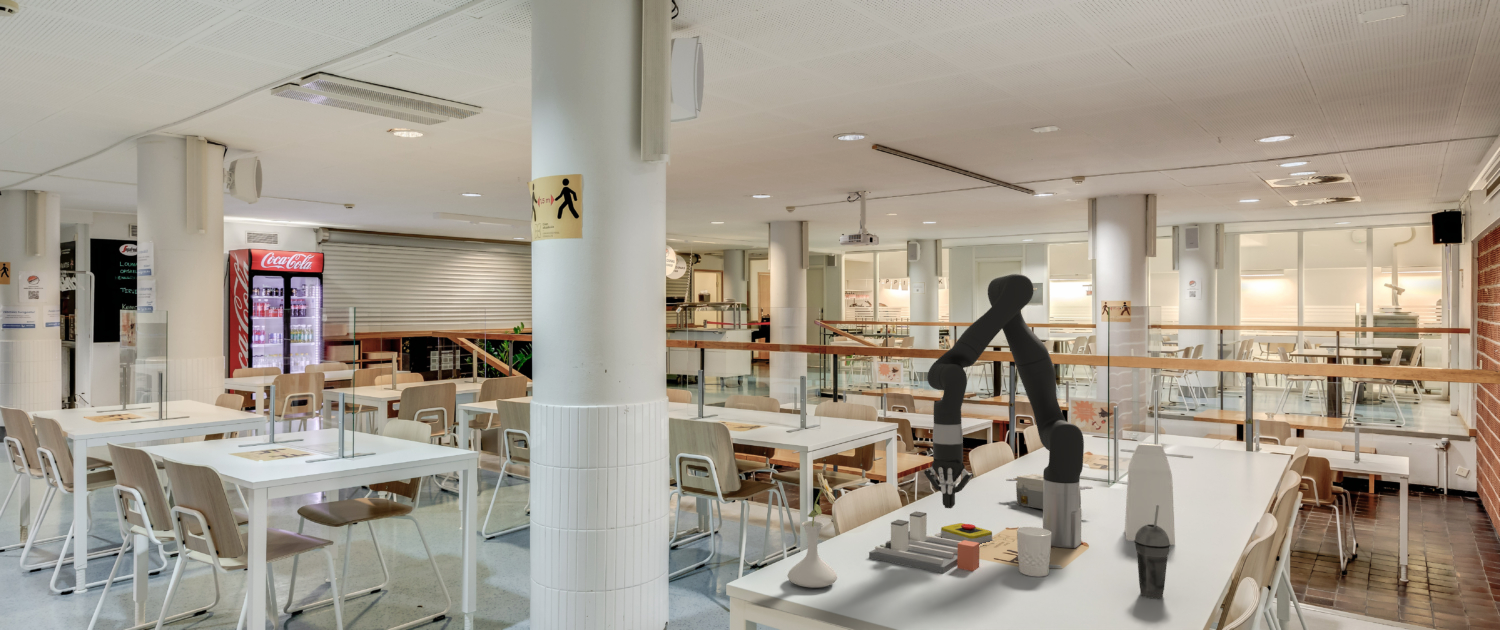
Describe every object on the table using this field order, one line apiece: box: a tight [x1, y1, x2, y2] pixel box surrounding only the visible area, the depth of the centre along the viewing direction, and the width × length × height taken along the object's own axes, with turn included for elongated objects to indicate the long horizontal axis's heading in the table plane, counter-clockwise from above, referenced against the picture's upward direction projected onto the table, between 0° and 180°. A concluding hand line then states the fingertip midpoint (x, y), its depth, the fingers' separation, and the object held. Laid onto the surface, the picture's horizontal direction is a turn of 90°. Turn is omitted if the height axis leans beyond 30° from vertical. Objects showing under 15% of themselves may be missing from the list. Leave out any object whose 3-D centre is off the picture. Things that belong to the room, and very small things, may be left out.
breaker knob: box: [890, 519, 910, 552], centre depth 210 cm, size 3×4×7 cm
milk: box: [1124, 443, 1176, 546], centre depth 232 cm, size 12×12×26 cm
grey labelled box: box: [1005, 473, 1094, 510], centre depth 265 cm, size 12×28×10 cm, turn 29°
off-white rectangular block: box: [909, 510, 928, 542], centre depth 219 cm, size 3×4×7 cm
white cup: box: [1016, 526, 1052, 578], centre depth 199 cm, size 8×8×10 cm
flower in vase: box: [787, 472, 838, 589], centre depth 190 cm, size 13×11×25 cm
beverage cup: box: [1133, 505, 1171, 600], centre depth 184 cm, size 7×7×20 cm
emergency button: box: [934, 522, 994, 544], centre depth 229 cm, size 9×4×15 cm
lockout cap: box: [956, 540, 980, 572], centre depth 203 cm, size 4×4×6 cm
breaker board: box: [868, 530, 962, 574], centre depth 213 cm, size 20×22×4 cm
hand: (948, 507), depth 214 cm, fingers closed
